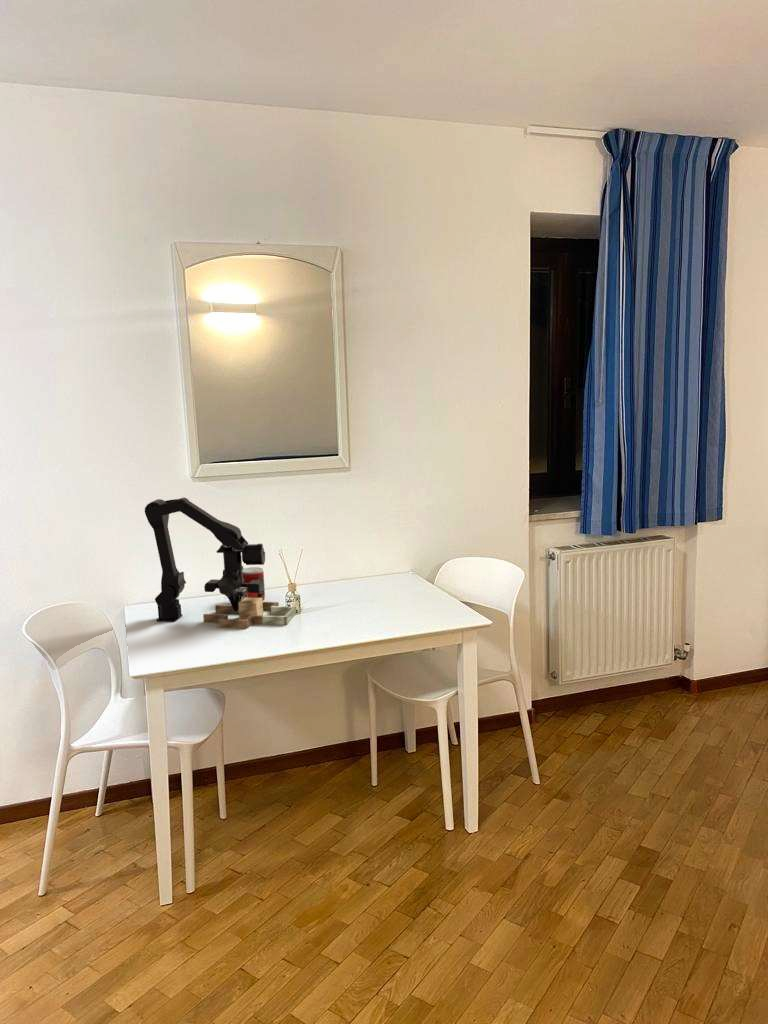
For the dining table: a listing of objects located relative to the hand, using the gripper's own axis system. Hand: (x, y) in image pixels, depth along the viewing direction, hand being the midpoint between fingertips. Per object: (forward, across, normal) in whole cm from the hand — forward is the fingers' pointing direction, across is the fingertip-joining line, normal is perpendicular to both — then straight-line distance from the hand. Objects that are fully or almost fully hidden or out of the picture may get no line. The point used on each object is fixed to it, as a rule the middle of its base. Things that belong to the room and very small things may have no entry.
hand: (236, 611), depth 249 cm
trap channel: (+2, +5, 0) cm, 5 cm away
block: (+2, +5, 0) cm, 6 cm away
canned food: (+2, -1, +20) cm, 20 cm away
